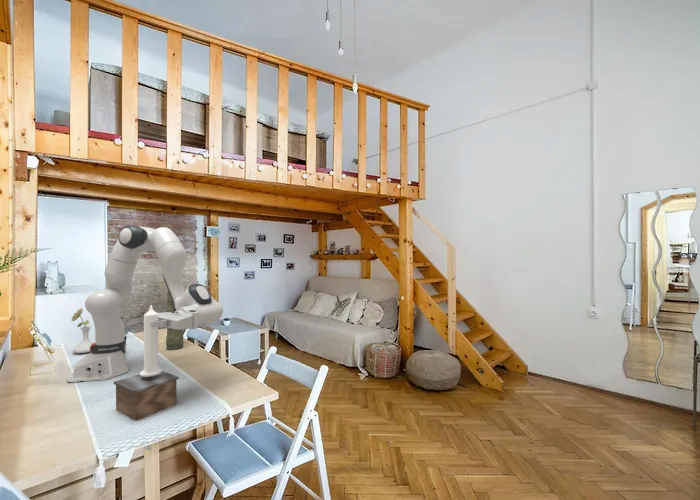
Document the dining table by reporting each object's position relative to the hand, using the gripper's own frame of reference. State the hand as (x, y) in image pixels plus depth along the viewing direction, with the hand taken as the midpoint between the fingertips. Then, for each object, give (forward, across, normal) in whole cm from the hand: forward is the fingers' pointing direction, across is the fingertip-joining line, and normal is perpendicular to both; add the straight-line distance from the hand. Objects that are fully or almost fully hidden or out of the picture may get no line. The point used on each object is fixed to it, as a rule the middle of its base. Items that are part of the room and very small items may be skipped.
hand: (148, 324), depth 122 cm
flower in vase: (-14, -97, +30) cm, 103 cm away
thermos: (-46, -63, +30) cm, 84 cm away
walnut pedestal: (+1, 0, +30) cm, 30 cm away
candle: (-1, 0, +18) cm, 18 cm away
